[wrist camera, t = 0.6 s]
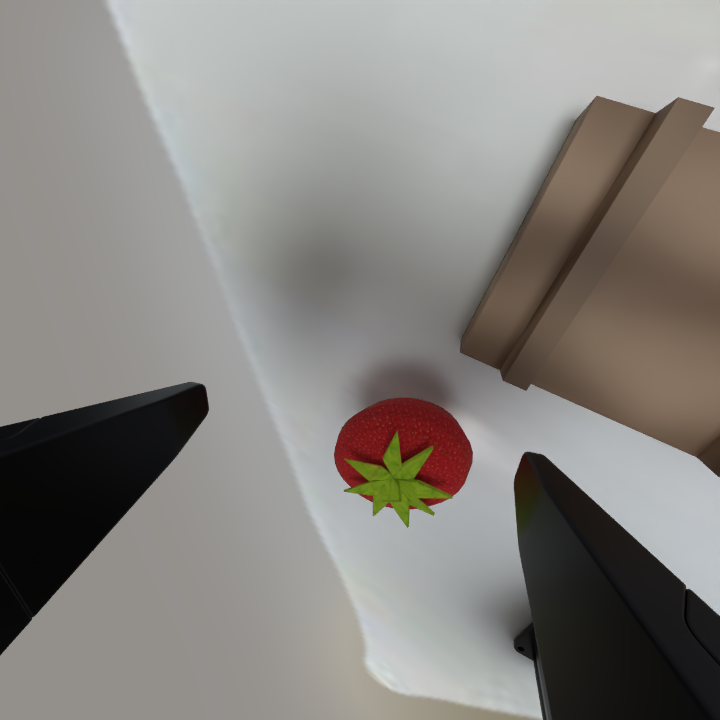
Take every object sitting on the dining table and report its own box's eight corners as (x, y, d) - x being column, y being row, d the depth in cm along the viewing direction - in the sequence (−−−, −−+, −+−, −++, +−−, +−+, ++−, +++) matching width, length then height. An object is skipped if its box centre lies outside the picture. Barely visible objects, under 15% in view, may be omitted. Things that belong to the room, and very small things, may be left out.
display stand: (734, 460, 18) (802, 514, 14) (460, 340, 20) (459, 360, 17) (976, 242, 13) (1174, 240, 9) (577, 118, 15) (611, 78, 12)
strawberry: (355, 374, 23) (285, 455, 14) (466, 364, 21) (467, 456, 12) (371, 446, 25) (316, 561, 16) (475, 445, 22) (482, 582, 13)
